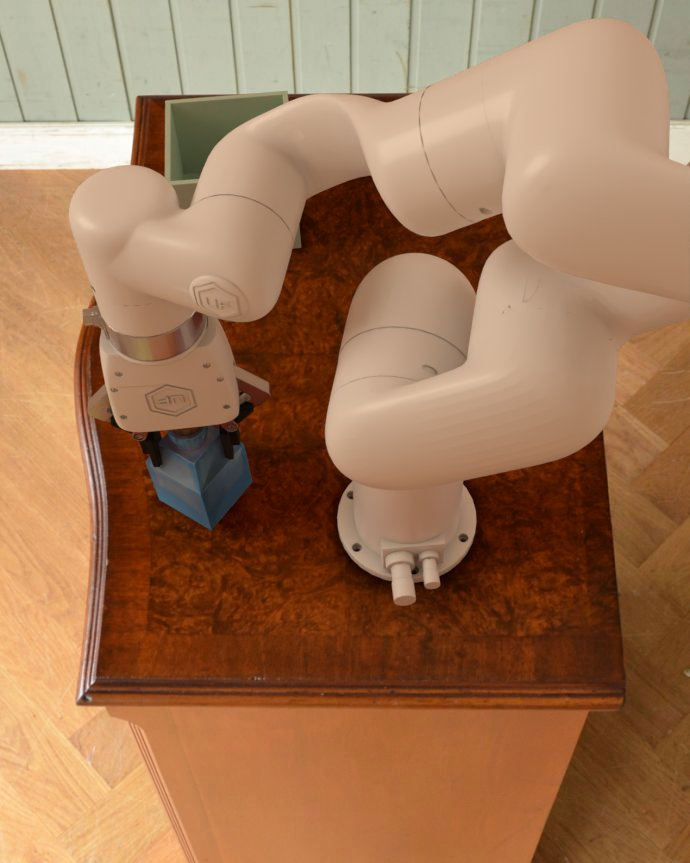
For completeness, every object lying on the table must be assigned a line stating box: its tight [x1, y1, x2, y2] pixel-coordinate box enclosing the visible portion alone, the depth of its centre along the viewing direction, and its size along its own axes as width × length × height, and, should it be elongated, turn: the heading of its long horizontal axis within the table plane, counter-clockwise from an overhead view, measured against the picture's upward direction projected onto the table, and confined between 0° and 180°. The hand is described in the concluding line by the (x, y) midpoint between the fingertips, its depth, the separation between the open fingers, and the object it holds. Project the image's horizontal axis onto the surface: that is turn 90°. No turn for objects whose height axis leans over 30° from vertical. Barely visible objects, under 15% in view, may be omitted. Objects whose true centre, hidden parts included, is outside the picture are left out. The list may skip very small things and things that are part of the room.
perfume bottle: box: [145, 425, 253, 531], centre depth 102 cm, size 6×6×12 cm
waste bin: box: [164, 90, 302, 250], centre depth 124 cm, size 13×13×11 cm
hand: (193, 448), depth 101 cm, fingers closed on perfume bottle, 5 cm apart
